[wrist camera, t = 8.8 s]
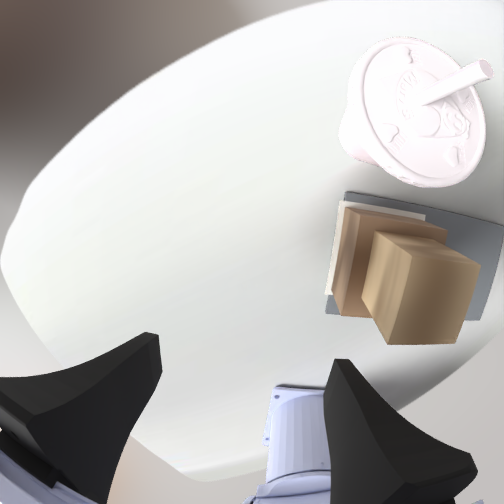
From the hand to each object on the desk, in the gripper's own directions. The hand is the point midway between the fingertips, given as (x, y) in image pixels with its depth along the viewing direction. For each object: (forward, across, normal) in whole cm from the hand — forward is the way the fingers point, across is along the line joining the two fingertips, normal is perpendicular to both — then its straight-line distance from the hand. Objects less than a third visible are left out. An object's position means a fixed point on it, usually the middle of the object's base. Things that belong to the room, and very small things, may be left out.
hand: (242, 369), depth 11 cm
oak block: (+6, -8, -3) cm, 10 cm away
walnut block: (+10, -8, -3) cm, 13 cm away
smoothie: (+11, -6, -11) cm, 17 cm away
